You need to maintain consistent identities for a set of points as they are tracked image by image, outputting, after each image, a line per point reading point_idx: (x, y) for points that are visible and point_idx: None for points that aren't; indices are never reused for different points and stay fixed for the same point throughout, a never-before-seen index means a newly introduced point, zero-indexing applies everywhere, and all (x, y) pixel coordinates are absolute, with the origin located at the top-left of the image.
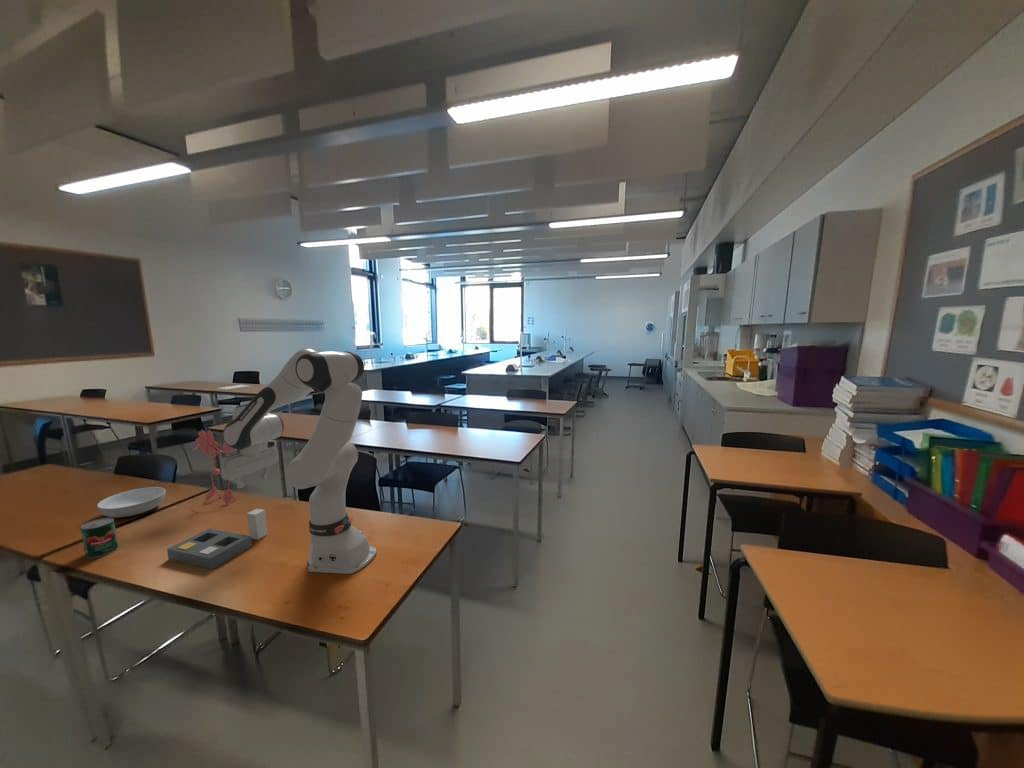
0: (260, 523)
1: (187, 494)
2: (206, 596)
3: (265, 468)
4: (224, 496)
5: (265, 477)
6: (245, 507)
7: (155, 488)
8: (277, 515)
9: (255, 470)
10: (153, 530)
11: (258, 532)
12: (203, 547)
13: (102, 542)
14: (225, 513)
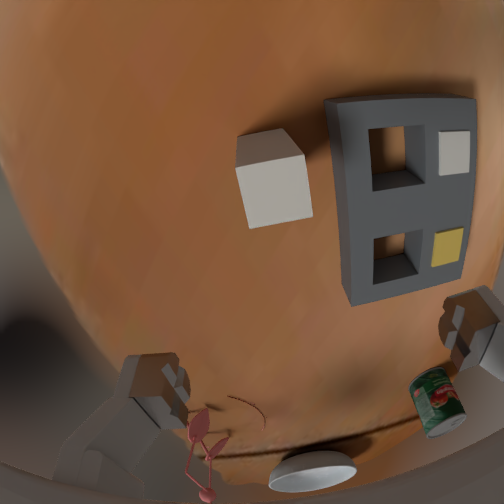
0: (269, 144)
1: (231, 463)
2: (497, 7)
3: (116, 468)
4: (205, 430)
5: (154, 356)
6: None
7: (274, 487)
8: (137, 254)
9: (359, 496)
10: (351, 401)
11: (280, 134)
12: (444, 193)
13: (447, 387)
14: (231, 379)
